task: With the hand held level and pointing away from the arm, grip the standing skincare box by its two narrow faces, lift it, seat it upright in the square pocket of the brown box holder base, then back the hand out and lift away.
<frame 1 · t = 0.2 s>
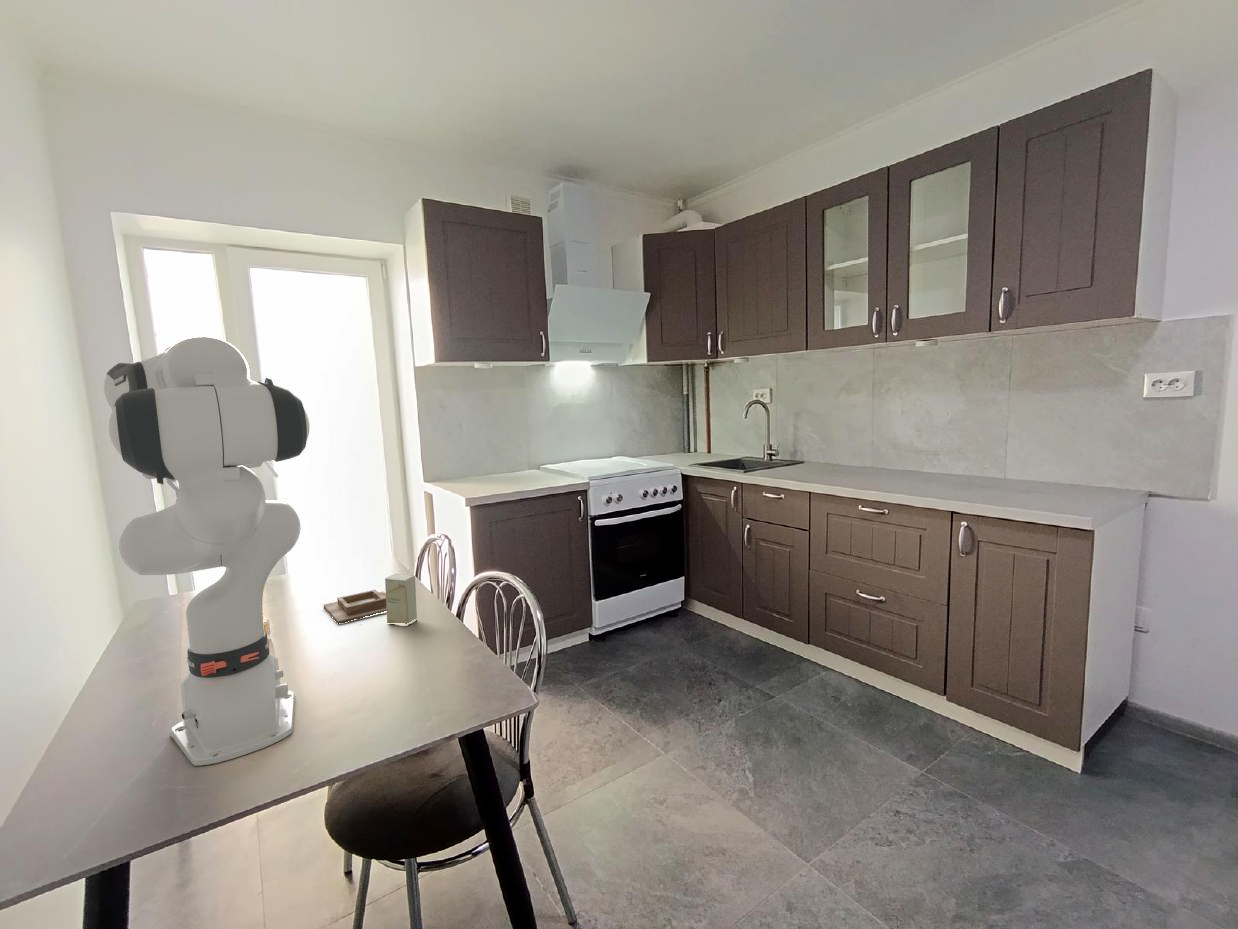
hand: (209, 493, 118), 38 cm above the table, tool pointing down, fingers open, 8 cm apart
brown box holder base: (362, 608, 157), on the table
skincare box: (402, 623, 147), on the table
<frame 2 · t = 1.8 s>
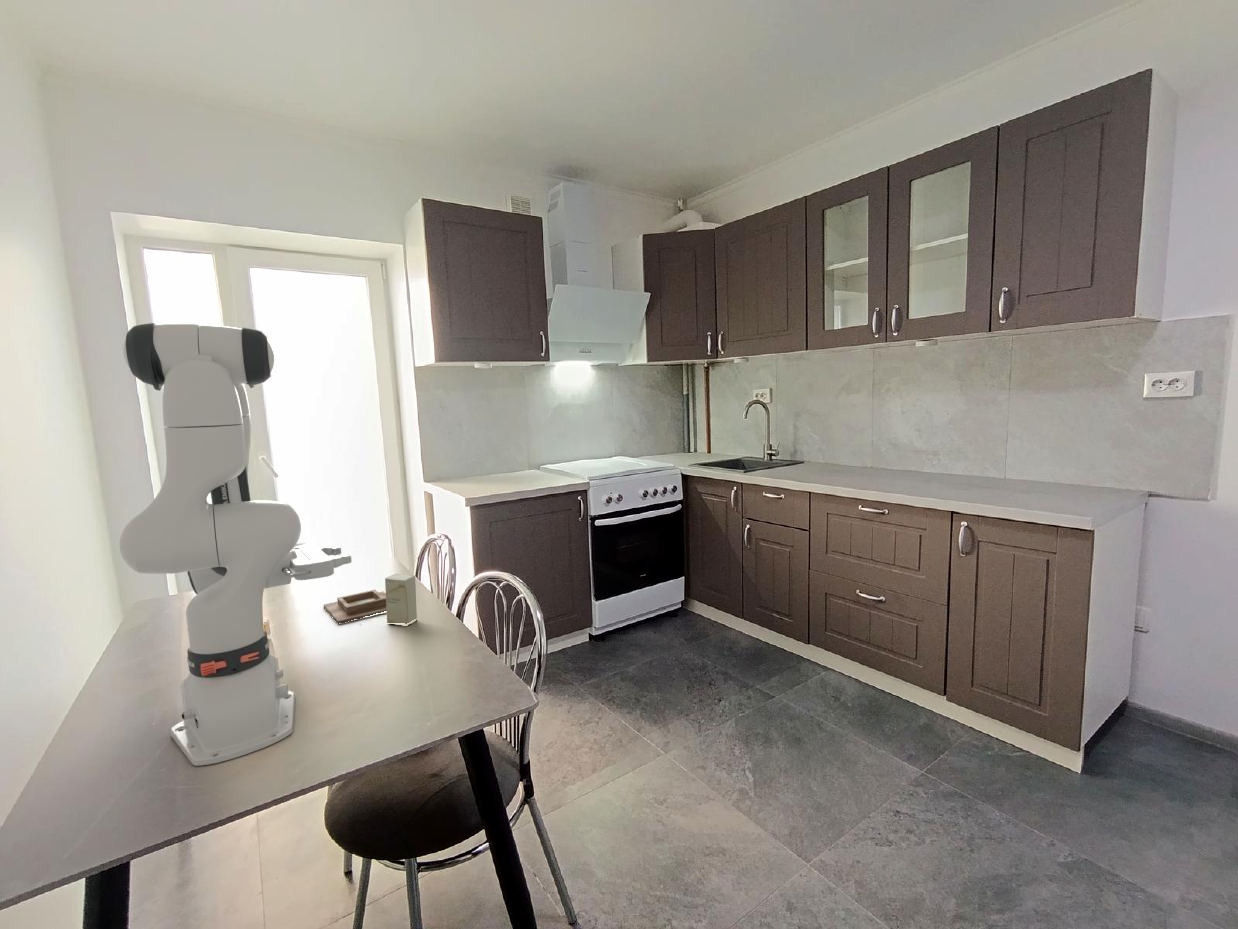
hand: (345, 554, 137), 20 cm above the table, tool horizontal, fingers open, 8 cm apart
nothing on the table moved.
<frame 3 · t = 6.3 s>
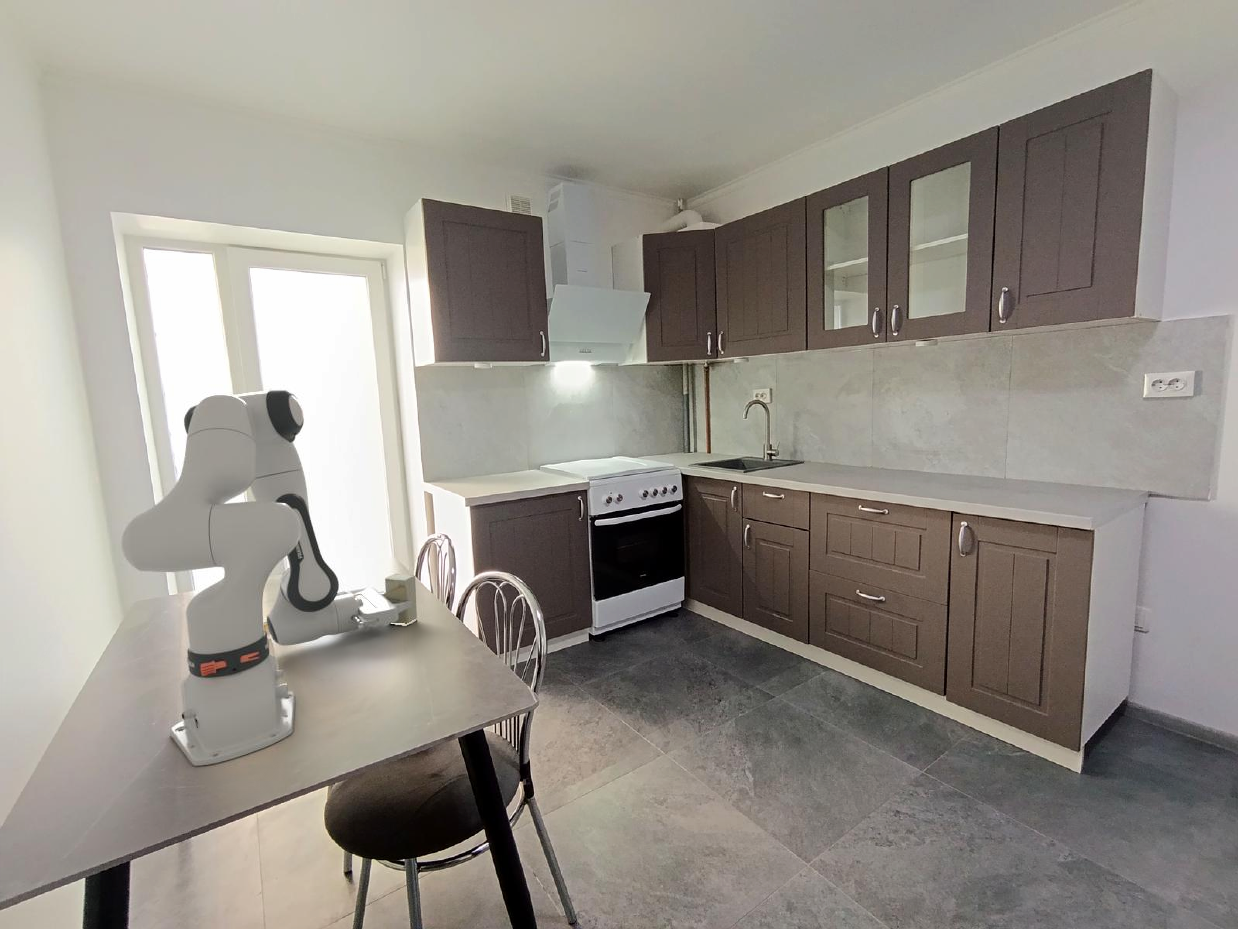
hand: (404, 599, 146), 6 cm above the table, tool horizontal, fingers closed on skincare box, 7 cm apart
skincare box: (402, 623, 147), on the table, touching gripper
when the fingers open (8 cm above the table, at t = 13.8 s): skincare box stays where it is, resting on brown box holder base.
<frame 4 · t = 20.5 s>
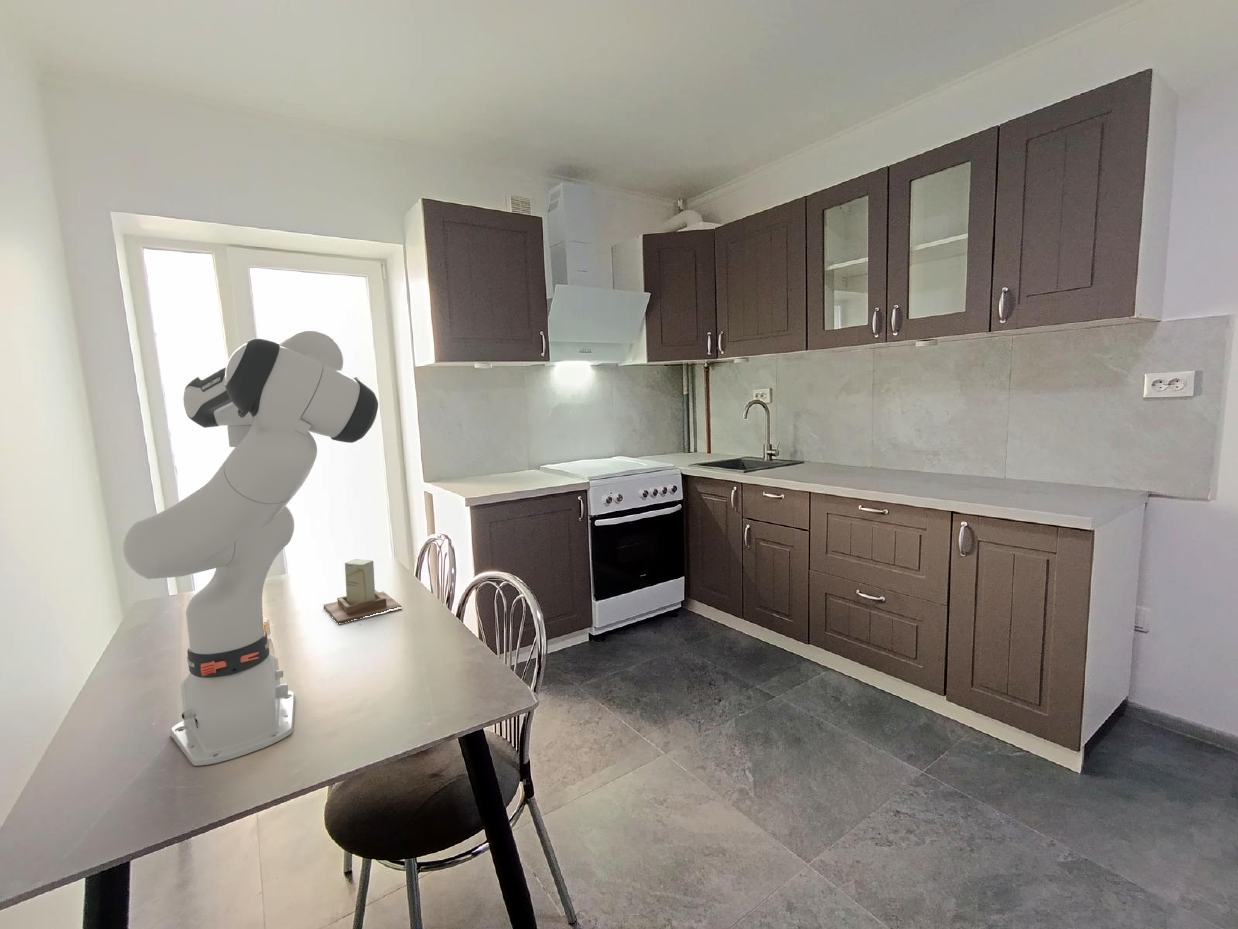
hand: (258, 498, 130), 35 cm above the table, tool pointing down, fingers open, 8 cm apart
skincare box: (362, 605, 157), point 1 cm above the table, touching brown box holder base
at the end: skincare box 0.1 cm off-centre on the brown box holder base, point 1.0 cm above the brown box holder base's base; skincare box tilted 0°; the gripper is holding nothing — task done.
